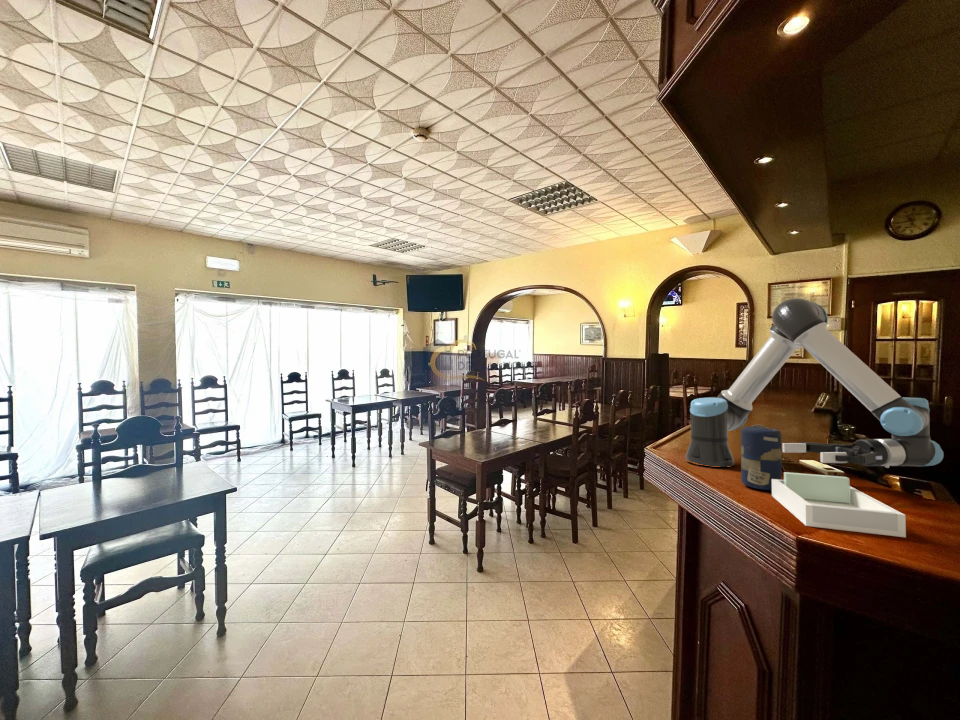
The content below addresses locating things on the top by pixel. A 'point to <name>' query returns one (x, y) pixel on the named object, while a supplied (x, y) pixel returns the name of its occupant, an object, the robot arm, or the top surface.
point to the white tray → (843, 512)
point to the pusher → (819, 486)
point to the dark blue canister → (760, 456)
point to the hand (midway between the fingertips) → (801, 452)
